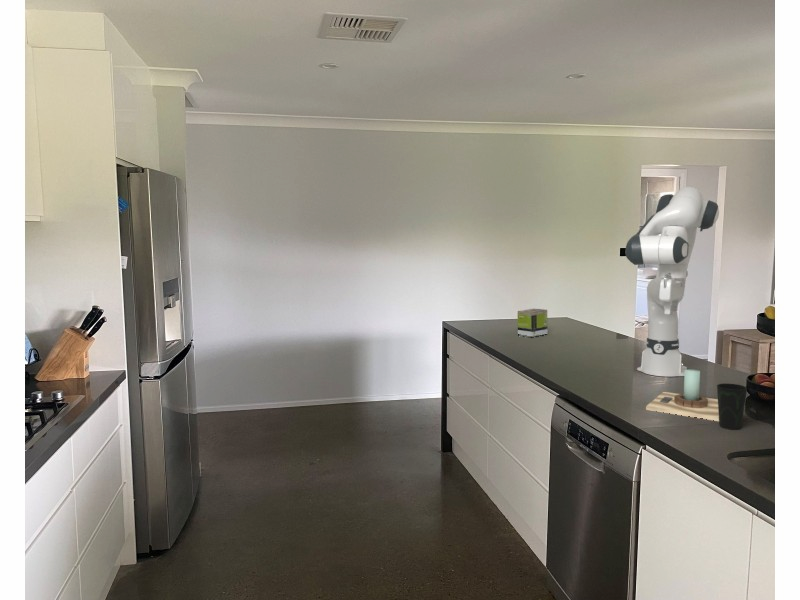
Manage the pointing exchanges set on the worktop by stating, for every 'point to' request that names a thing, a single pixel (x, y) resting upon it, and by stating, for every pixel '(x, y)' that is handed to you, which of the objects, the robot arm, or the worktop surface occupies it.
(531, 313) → the tea box
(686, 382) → the peg
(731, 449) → the worktop surface
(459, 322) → the worktop surface
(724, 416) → the cup
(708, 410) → the socket board
